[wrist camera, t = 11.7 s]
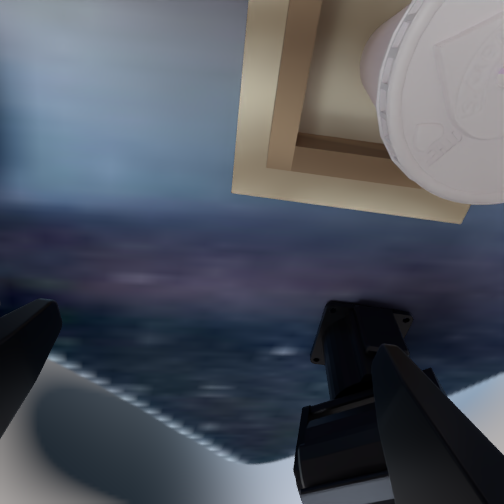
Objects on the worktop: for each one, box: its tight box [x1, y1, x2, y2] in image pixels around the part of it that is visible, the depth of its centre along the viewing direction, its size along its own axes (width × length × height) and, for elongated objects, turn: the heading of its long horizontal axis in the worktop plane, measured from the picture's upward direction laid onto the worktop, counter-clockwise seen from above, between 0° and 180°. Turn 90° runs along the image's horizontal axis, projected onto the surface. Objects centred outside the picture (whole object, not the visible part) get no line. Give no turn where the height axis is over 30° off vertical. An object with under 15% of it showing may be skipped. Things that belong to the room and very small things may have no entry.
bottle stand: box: [231, 0, 471, 224], centre depth 15 cm, size 16×14×4 cm
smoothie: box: [360, 0, 504, 205], centre depth 10 cm, size 6×6×14 cm
